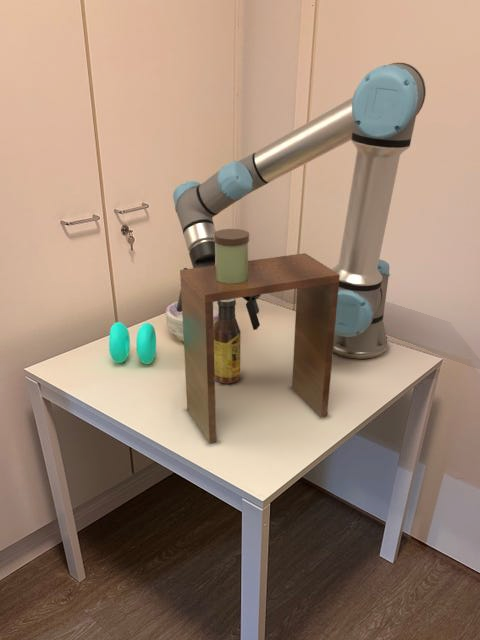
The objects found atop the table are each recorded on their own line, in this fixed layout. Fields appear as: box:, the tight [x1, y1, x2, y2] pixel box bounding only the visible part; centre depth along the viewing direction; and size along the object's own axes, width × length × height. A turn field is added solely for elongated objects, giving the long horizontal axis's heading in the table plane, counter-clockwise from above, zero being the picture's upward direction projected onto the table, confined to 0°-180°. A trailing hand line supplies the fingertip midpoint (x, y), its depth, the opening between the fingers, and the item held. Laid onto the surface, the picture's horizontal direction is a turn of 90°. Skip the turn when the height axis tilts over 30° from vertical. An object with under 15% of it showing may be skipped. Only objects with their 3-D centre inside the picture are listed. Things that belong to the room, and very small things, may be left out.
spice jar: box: [214, 228, 250, 284], centre depth 115 cm, size 6×6×8 cm
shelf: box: [179, 252, 340, 444], centre depth 129 cm, size 27×14×32 cm, turn 113°
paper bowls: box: [165, 300, 219, 343], centre depth 168 cm, size 15×15×8 cm
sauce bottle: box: [214, 298, 242, 385], centre depth 145 cm, size 6×6×20 cm
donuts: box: [108, 321, 157, 365], centre depth 155 cm, size 10×10×10 cm
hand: (229, 332), depth 143 cm, fingers open, 13 cm apart
